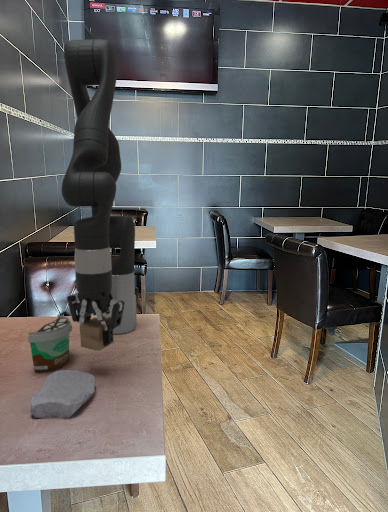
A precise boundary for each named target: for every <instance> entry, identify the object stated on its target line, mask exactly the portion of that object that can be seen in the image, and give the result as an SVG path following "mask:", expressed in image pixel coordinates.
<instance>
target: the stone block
mask: <svg viewBox="0 0 388 512" xmlns="http://www.w3.org/2000/svg"><path fill="white" fill-rule="evenodd" d="M96 382H97V381H96V377H95V376H94V375H93V374H90V373H88V372H83V371H79V370H72V369H70V370H69V369H59V370H55V371H53V372H52V373H50V374H49V375H48V376H47V378H46V379H45V381H44V382H43V385H42V386H41V388H40V390H39V391H38V392H37V393H36V394H35V395H32V397H31V400H30V413H31V415H32V417H34V419H48V418H49V419H51V418H57V419H58V418H60V419H70V418H71V417H73V416H74V415H75V413H77V412H78V410H80V409H81V407H83V406H84V405H85V404H87V402H88V401H89V400H90V399H91V398H92V397H93V396H94V394H95V391H96V390H95V388H96V387H95V386H96Z"/></svg>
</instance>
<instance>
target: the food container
mask: <svg viewBox="0 0 388 512" xmlns="http://www.w3.org/2000/svg"><path fill="white" fill-rule="evenodd" d="M72 330H73V325H72V321H71V320H70V318H69V317H68V316H64V315H61V314H57V318H56V319H55V320H53V321H50V322H48V323H47V324H44V325H43V326H42V327H41V328H40V329H38V330H37V331H36V332H35V331H33V332H31V331H28V336H27V342H28V343H29V345H30V351H31V358H32V364H33V370H34V373H38V374H41V373H50V372H56V371H59V370H61V369H62V368H64V367H65V366H66V365H68V364H69V361H70V360H69V359H70V357H69V355H70V334H71V332H72Z"/></svg>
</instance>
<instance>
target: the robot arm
mask: <svg viewBox="0 0 388 512" xmlns="http://www.w3.org/2000/svg"><path fill="white" fill-rule="evenodd" d="M63 48H64V49H63V59H64V64H65V70H66V74H67V80H68V82H69V88H70V92H71V96H72V100H73V104H74V110H75V113H76V118H77V119H76V121H75V125H74V129H73V130H74V131H73V147H72V149H73V150H72V155H71V158H70V161H69V164H68V167H67V168H66V171H65V174H64V176H63V178H62V183H61V196H62V198H63V200H64V201H65V203H66V204H67V205H68V206H70V207H74V208H91V216H90V217H85V218H84V217H83V218H80V219H77V220H76V221H75V222H74V224H73V236H74V238H73V239H74V273H75V274H74V275H75V289H76V291H77V292H75V293H72V294H70V295H67V297H66V300H67V304H68V307H69V311H70V312H69V313H70V315H71V320H72V321H73V322H74V323H75V322H77V323H78V324H79V326H80V325H81V324H83V323H85V322H87V321H89V320H91V319H92V316H93V315H95V316H96V318H98V320H99V321H100V322H101V324H102V327H103V345H104V346H106V347H108V346H110V345H111V344H112V343H114V342H113V340H114V335H121V334H127V333H130V332H132V331H134V330H135V328H136V325H138V324H137V295H136V294H135V291H136V290H135V249H136V248H135V244H136V243H135V241H136V226H135V221H134V219H133V218H132V216H129V215H111V213H112V209H113V204H114V202H115V199H116V198H115V197H116V194H117V181H118V179H119V177H120V174H121V171H122V160H121V159H122V158H121V152H120V151H121V150H120V145H119V140H118V139H117V137H116V136H115V134H114V133H113V132H112V130H111V128H110V120H111V112H112V108H113V102H114V98H115V97H114V96H115V91H116V84H117V79H118V62H117V55H116V51H115V48H114V46H113V44H112V42H111V41H110V40H107V39H101V38H98V39H97V38H94V39H70V40H67V41H66V42H65V44H64V47H63ZM88 86H90V87H91V86H94V87H95V86H98V87H96V91H95V93H93V96H92V97H90V95H89V92H88V88H87V87H88ZM111 249H117V250H119V249H120V251H119V254H118V255H117V256H115V257H113V258H112V253H111ZM106 320H107V321H106ZM107 322H108V324H107Z"/></svg>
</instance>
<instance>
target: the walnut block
mask: <svg viewBox="0 0 388 512" xmlns="http://www.w3.org/2000/svg"><path fill="white" fill-rule="evenodd" d="M106 321H107V320H106ZM107 324H108V322H107ZM79 334H80V335H79V338H80V347H81V348H86V349H88V350H93V351H98V352H101V351H102V350H103V349H105V348H107V346H104V345H103V327H102V324H101V322H100V321H99V320H98V318H97V317H93V318H91V320H89V321H87V322H85V323H83V324H81V325H79ZM114 341H115V340H114V339H113V342H112V343H114Z"/></svg>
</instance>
